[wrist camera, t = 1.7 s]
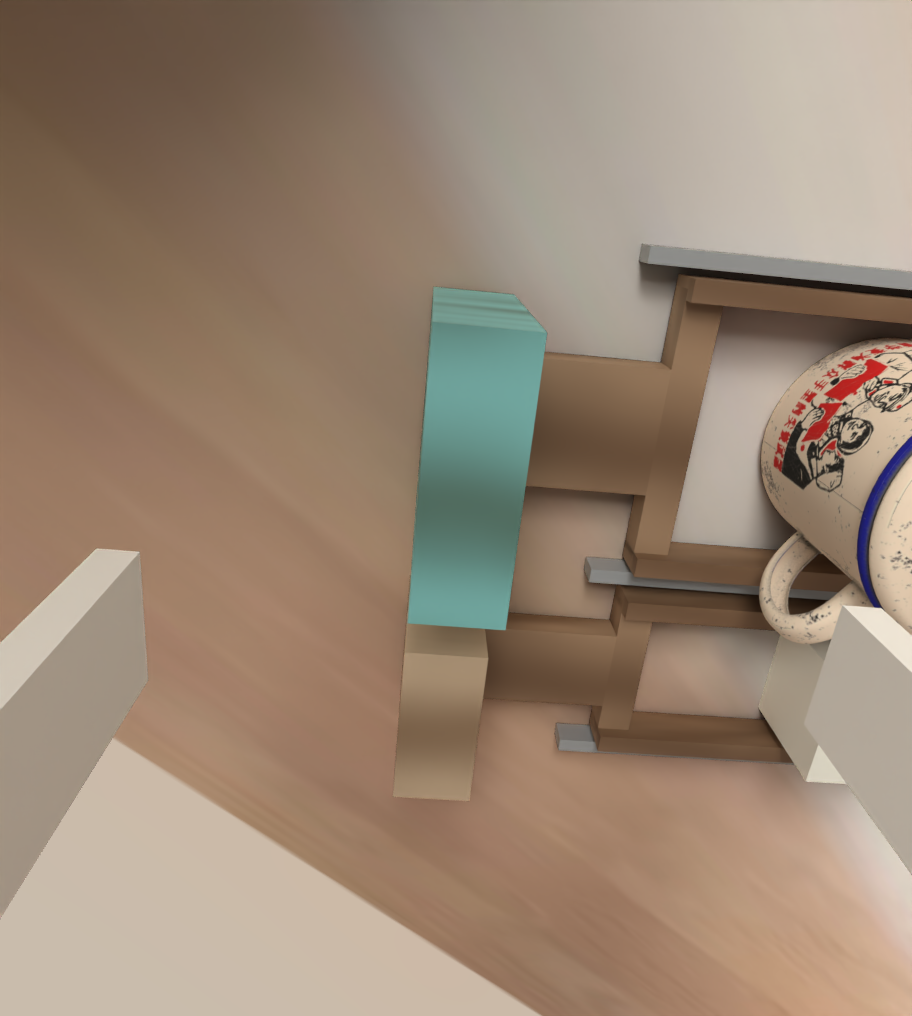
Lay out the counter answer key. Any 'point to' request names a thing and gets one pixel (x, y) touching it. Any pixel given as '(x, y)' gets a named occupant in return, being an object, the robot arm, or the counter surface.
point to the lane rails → (616, 569)
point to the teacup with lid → (843, 485)
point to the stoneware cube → (797, 706)
